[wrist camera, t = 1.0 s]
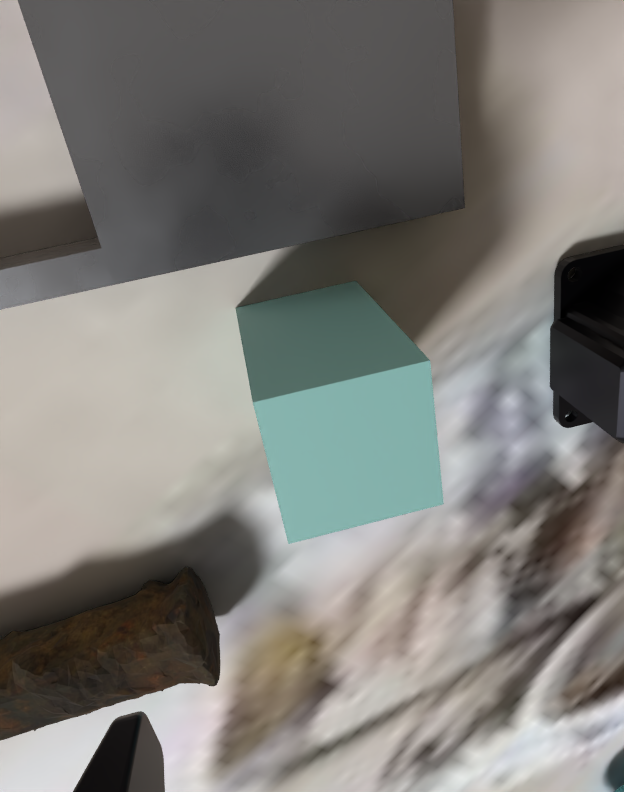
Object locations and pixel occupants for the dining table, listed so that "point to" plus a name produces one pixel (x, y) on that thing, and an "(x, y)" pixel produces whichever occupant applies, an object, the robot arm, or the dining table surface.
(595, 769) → the dining table surface
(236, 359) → the dining table surface
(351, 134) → the grey block with hole
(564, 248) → the dining table surface
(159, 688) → the hand tool
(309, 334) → the teal block
